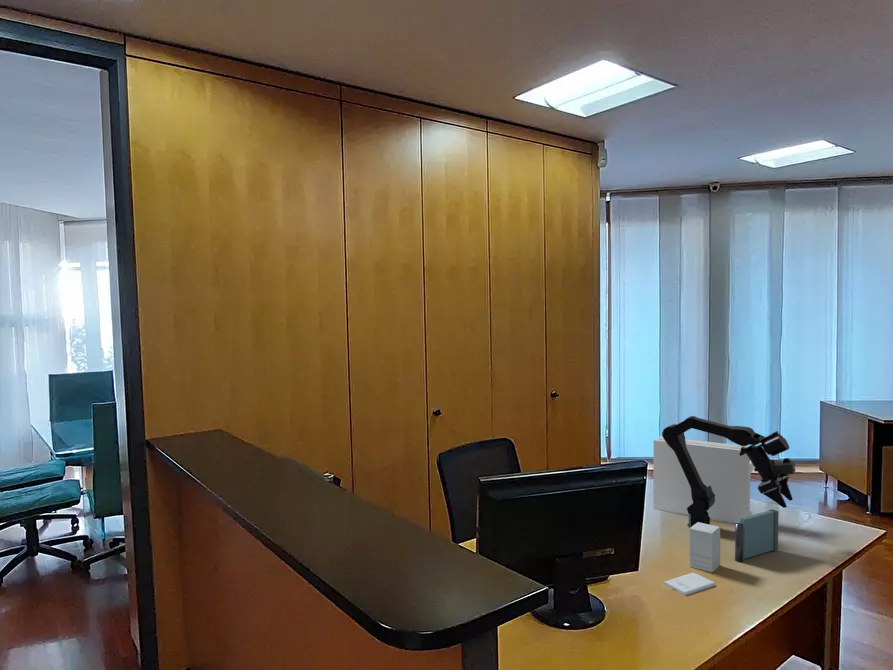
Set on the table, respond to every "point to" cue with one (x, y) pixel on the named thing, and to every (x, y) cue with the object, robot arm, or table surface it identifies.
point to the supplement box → (704, 546)
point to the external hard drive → (689, 583)
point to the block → (703, 479)
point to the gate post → (739, 542)
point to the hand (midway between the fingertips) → (788, 503)
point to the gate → (760, 533)
